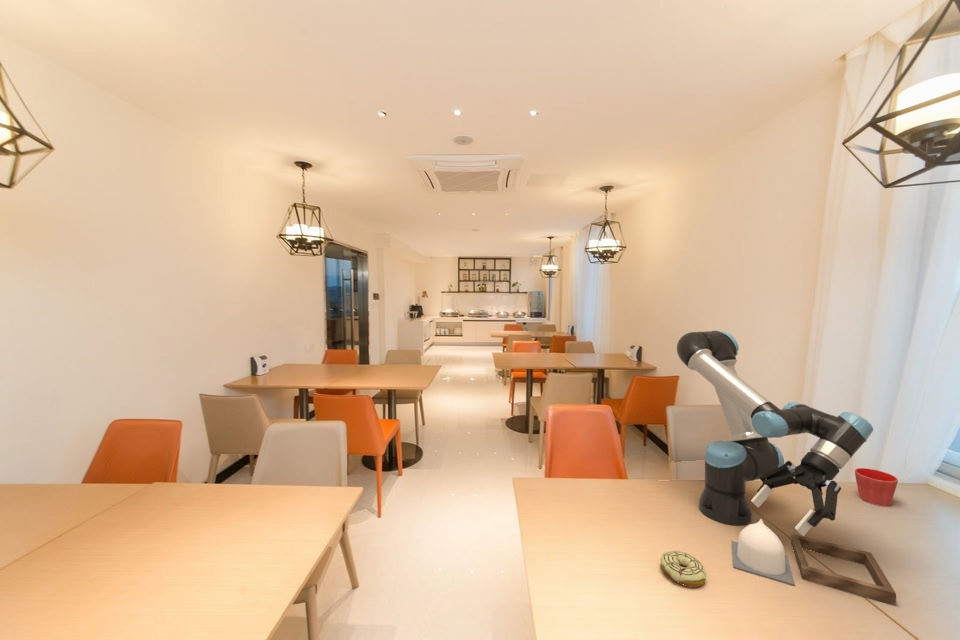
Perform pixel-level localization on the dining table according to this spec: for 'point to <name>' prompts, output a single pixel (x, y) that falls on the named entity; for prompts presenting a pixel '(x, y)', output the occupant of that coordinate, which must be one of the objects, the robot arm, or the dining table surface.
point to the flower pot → (875, 486)
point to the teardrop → (761, 549)
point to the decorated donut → (683, 568)
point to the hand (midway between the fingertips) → (775, 517)
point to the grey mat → (784, 577)
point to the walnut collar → (861, 588)
